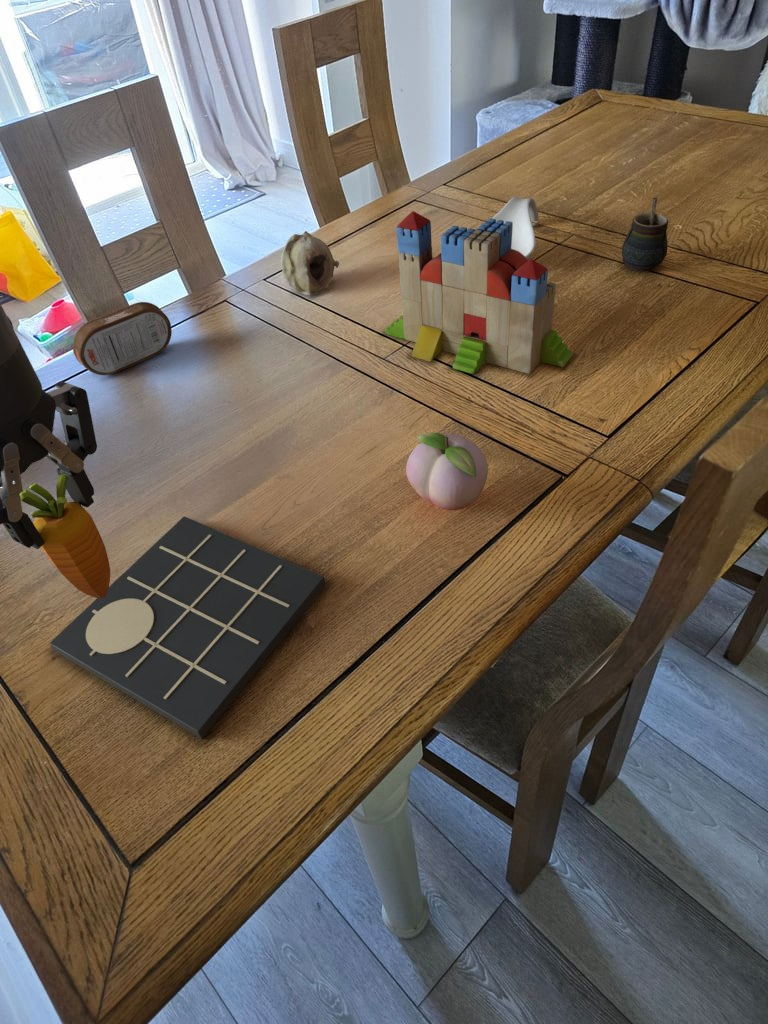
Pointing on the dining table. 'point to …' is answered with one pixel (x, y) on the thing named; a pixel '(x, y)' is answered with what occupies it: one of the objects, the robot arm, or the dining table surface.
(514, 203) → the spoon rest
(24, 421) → the robot arm
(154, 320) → the tin
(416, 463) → the decorative fruit
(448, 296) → the block set
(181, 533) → the grid board
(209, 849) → the dining table surface
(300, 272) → the beige rounded lump
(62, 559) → the carrot
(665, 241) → the mate gourd
